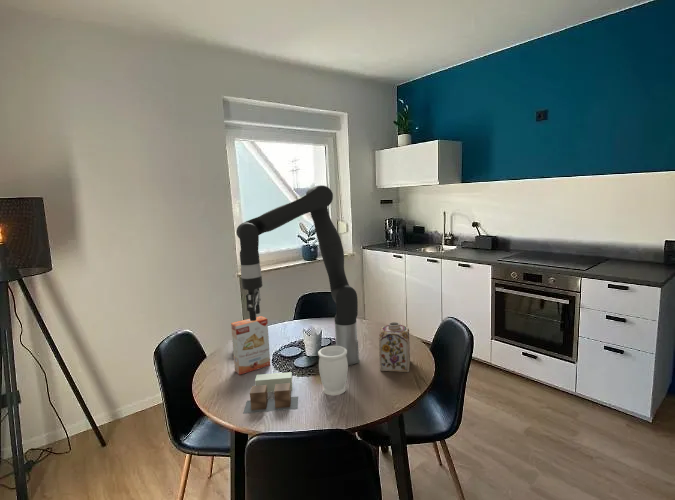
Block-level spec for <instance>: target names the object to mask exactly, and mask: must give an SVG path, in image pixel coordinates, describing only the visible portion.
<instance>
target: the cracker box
mask: <svg viewBox="0 0 675 500" xmlns="http://www.w3.org/2000/svg"><path fill="white" fill-rule="evenodd" d="M268 323H269V322H268V318H266V317H265V316H262V315H260V316H256V320H255V321H250V318H246V319H243V320H238V321H234V322H231V323H230V329H231V338H232V339H231V340H232V341H231V342H232V353H233V365H234V366H233V368H234V371H235V372H236V373H237V374H238V375H239V376H240V375H243V374H247V373H250V372H254V371H256V370H260V369H262V368H265V367H269V366H271V356H270V340H269V338H270V337H269V324H268Z"/></svg>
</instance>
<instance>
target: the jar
mask: <svg viewBox="0 0 675 500" xmlns="http://www.w3.org/2000/svg"><path fill="white" fill-rule="evenodd" d="M346 354H347V350H346V348H344V347H341V346H336V345H328V346H325V347H322V348H320V349H319V350H318V351H317V355H318V357H319V358H318V372H319V375H320V380H321V384H322V386H323V387H322V392H323V393H324V394H325V395H328V396H339V395H343V394H344V393H345V392H346V390H347V387H346V384H347V380H348V372H349V371H348V370H349V365H348V363H347V357H346Z"/></svg>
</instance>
